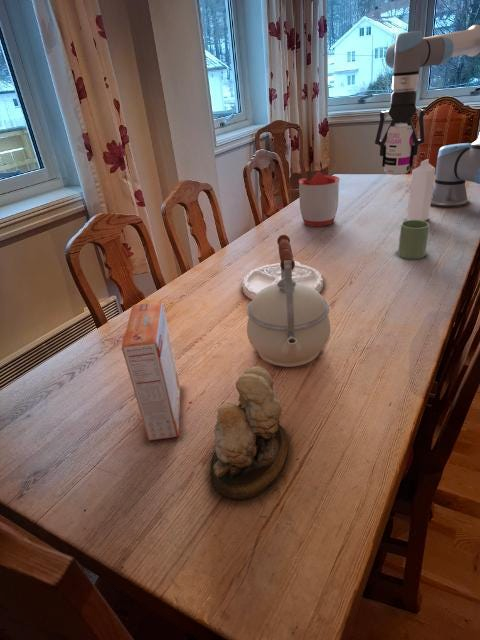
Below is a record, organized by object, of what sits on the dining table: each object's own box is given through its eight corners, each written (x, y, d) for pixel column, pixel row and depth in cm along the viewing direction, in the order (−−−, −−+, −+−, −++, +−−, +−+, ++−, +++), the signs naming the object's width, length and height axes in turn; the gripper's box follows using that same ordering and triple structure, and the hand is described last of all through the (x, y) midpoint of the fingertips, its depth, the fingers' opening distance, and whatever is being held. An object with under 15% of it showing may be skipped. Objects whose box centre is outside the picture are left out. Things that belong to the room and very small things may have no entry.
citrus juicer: (324, 213, 183) (325, 164, 173) (345, 224, 169) (347, 171, 159) (291, 219, 180) (289, 170, 170) (309, 231, 165) (309, 178, 155)
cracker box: (152, 392, 89) (131, 303, 78) (181, 388, 89) (164, 299, 78) (145, 442, 76) (119, 345, 66) (179, 438, 77) (158, 340, 66)
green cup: (408, 247, 143) (412, 218, 138) (430, 254, 137) (435, 223, 132) (392, 254, 139) (395, 224, 134) (414, 261, 133) (418, 230, 128)
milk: (428, 218, 166) (437, 159, 155) (420, 223, 163) (429, 162, 152) (413, 216, 170) (421, 157, 159) (405, 220, 167) (413, 161, 156)
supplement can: (409, 169, 149) (414, 122, 142) (408, 175, 143) (414, 126, 135) (385, 170, 152) (388, 124, 145) (383, 175, 146) (387, 127, 138)
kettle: (249, 326, 108) (240, 231, 95) (322, 322, 107) (323, 225, 94) (248, 391, 86) (236, 278, 74) (340, 386, 85) (344, 271, 73)
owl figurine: (240, 413, 81) (231, 337, 72) (300, 427, 76) (299, 348, 68) (195, 489, 67) (177, 406, 58) (266, 512, 62) (258, 426, 54)
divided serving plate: (231, 300, 121) (230, 293, 120) (260, 263, 142) (259, 256, 141) (313, 308, 113) (313, 300, 112) (331, 267, 135) (331, 260, 133)
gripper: (368, 94, 136) (364, 168, 148) (440, 88, 128) (430, 167, 140) (371, 92, 142) (367, 163, 153) (441, 87, 134) (431, 163, 145)
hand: (397, 165), depth 146 cm, fingers closed on supplement can, 8 cm apart
